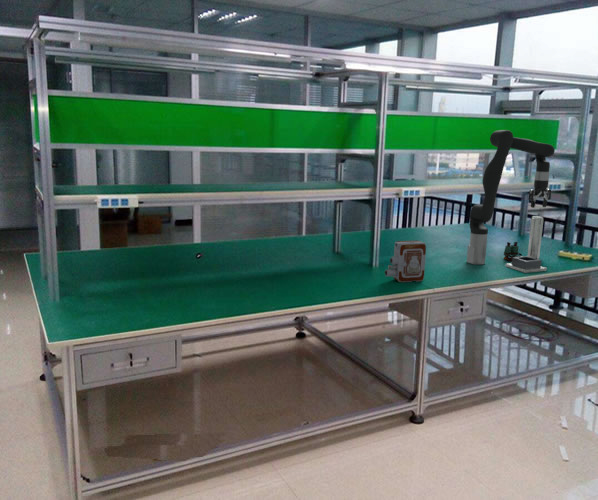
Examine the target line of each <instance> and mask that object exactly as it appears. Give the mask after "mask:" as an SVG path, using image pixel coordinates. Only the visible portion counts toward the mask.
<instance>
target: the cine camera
mask: <svg viewBox="0 0 598 500" xmlns="http://www.w3.org/2000/svg"><path fill="white" fill-rule="evenodd" d="M393 248H394V250H393V252H394V253H393V256H391V257H390V258H389V263H390V264H388V266H387V269H385V271H384V275H385V277H392V278H393V279H394V280H395V281H397V282H399V283H413V282H412V281H416V282H422V281H424V279H425V271H426V258H427V257H426V256H427V255H426V254H427V253H426V252H427V245H426V242H422V241H421V240H398V241H395V242H394V247H393ZM391 264H392V265H391Z"/></svg>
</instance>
